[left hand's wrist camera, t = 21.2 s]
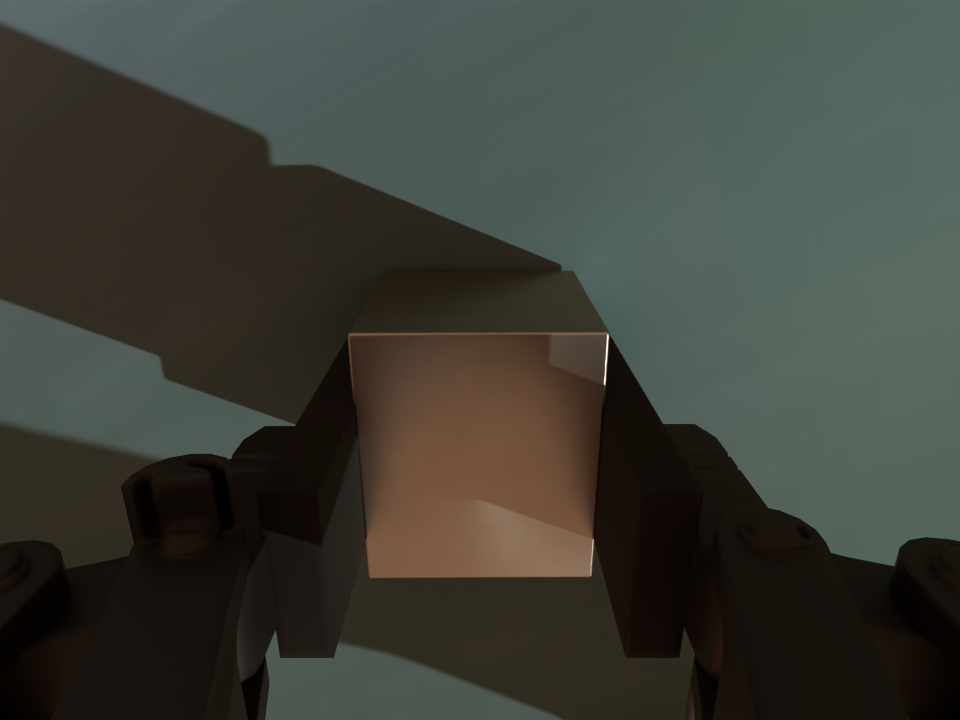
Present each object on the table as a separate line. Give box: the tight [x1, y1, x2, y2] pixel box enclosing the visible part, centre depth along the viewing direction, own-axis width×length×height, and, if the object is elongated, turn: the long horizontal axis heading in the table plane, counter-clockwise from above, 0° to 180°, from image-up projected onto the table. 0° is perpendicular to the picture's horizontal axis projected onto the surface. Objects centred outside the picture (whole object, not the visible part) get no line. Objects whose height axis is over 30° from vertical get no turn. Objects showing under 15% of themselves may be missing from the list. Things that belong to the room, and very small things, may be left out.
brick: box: [347, 271, 610, 578], centre depth 13 cm, size 5×4×4 cm
